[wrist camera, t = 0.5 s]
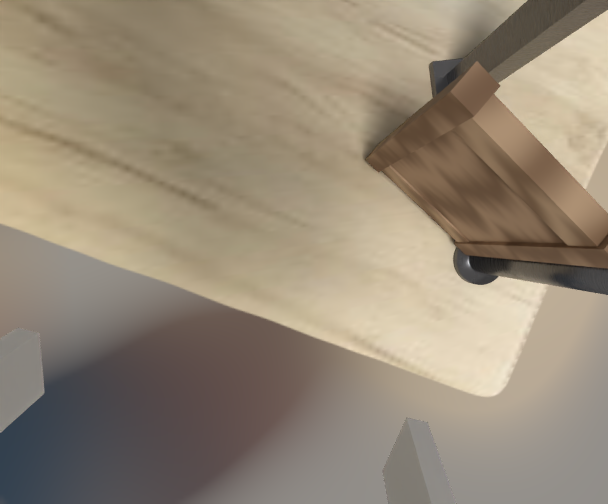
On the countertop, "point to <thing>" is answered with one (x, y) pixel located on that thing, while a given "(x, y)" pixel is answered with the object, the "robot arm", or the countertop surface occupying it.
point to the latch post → (520, 39)
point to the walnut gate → (492, 179)
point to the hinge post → (530, 272)
